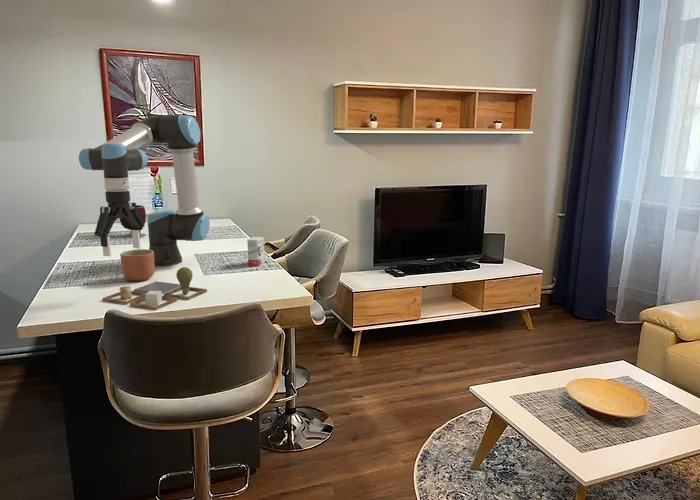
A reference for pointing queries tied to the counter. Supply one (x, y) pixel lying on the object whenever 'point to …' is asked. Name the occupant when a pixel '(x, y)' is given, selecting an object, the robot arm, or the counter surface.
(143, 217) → the mate gourd
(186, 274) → the light bulb
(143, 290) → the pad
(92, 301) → the counter surface
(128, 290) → the cork stub
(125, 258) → the planter
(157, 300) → the grey cube
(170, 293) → the brown square outline
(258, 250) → the ink box
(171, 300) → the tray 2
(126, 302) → the wooden square frame
